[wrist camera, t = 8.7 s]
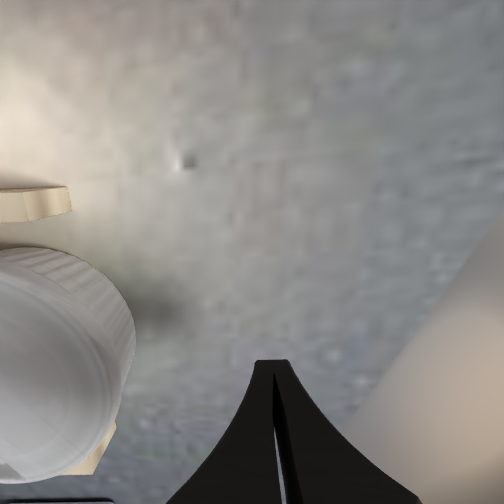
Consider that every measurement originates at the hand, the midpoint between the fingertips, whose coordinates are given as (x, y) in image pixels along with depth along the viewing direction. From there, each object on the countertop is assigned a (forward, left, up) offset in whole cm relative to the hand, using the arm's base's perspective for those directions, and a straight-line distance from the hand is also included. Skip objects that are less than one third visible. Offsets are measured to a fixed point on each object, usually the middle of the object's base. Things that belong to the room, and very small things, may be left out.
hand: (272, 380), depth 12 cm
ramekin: (0, +12, -5) cm, 13 cm away
